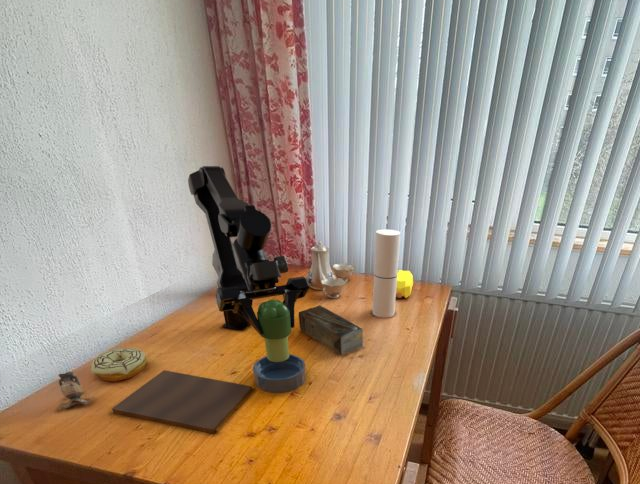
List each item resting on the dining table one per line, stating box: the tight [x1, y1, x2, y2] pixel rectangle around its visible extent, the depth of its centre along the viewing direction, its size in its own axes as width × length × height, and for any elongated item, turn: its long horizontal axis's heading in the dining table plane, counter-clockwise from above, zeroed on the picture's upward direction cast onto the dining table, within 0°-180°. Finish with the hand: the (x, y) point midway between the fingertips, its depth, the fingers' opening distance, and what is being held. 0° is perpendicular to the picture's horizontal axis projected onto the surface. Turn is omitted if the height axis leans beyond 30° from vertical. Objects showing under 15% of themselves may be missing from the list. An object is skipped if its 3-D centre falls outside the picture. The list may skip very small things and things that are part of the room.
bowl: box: [252, 353, 307, 394], centre depth 88 cm, size 11×11×4 cm
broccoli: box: [256, 299, 292, 362], centre depth 82 cm, size 7×7×13 cm
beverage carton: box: [298, 305, 364, 355], centre depth 105 cm, size 8×19×7 cm, turn 45°
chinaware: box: [305, 240, 355, 299], centre depth 137 cm, size 28×17×17 cm, turn 179°
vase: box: [58, 371, 90, 411], centre depth 77 cm, size 5×5×6 cm
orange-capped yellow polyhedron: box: [396, 269, 414, 299], centre depth 139 cm, size 18×7×8 cm
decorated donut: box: [90, 347, 148, 383], centre depth 87 cm, size 10×11×4 cm
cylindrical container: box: [371, 228, 402, 319], centre depth 117 cm, size 7×7×25 cm
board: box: [111, 369, 254, 435], centre depth 80 cm, size 22×15×1 cm
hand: (277, 330), depth 80 cm, fingers closed on broccoli, 6 cm apart
